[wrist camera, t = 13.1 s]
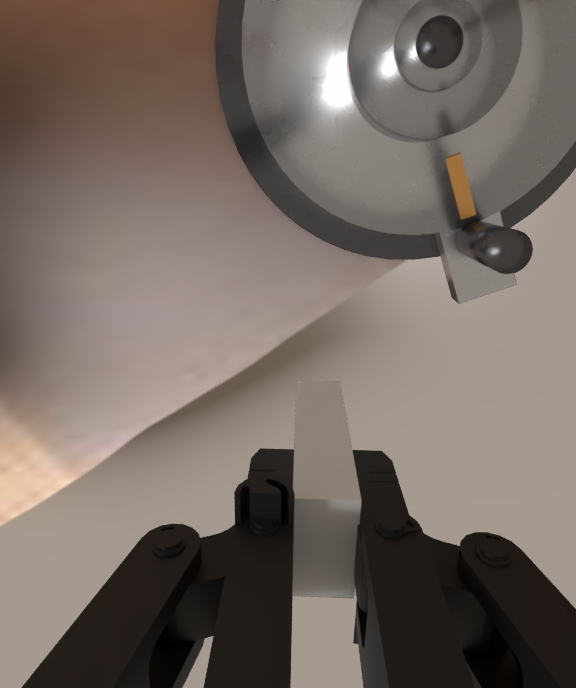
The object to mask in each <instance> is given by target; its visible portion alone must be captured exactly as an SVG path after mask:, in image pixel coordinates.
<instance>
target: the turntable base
mask: <svg viewBox="0 0 576 688" xmlns="http://www.w3.org/2000/svg"><path fill="white" fill-rule="evenodd" d="M244 7H245V0H220V3H219V8H218V16H217V29H216V68H217V78H218V84H219V90H220V97H221V102H222V106H223V109H224V113H225V116H226V120H227V124H228V127H229V130H230V132H231V135H232V137H233V139H234V142H235V144H236V147H237V149H238V152H239V154H240V155H241V157H242V159H243V161H244V162H245V164H246V166H247V168H248V170H249V171H250V173H251V175H252V176H253V178H254V179H255V180H256V182H257V183H258V184H259V186H260V187H261V188H262V190H263V191H264V192H265V194H266V195H267V196H268V197H269V198H270V199H271V200H272V201H273V202H274V203H275V205H276V206H277V207H278V208H279V209H280V210H281V211H282V212H283V213H284V214H286V215H287V216H288V217H289V218H291V219H292V220H293V221H294V222H296V223H297V224H298V225H299V226H301V227H302V228H303V229H305V230H307V231H308V232H310V233H312V234H313V235H315V236H317V237H318V238H320V239H322V240H323V241H326V242H328V243H330V244H333V245H335V246H337V247H339V248H342V249H344V250H347V251H351V252H355V253H358V254H362V255H365V256H371V257H378V258H385V259H422V258H431V257H438V256H440V252H439V249H438V245H437V242H436V238H435V234H420V235H403V234H390V233H385V232H380V231H375V230H370V229H367V228H364V227H361V226H358V225H355V224H352V223H349V222H347V221H345V220H343V219H341V218H339V217H337V216H335V215H333V214H331V213H330V212H328V211H327V210H325V209H324V208H322V207H321V206H319V205H318V204H317V203H315V202H314V201H312V200H311V199H310V198H309V197H308V196H307V195H306V194H304V193H303V192H302V191H301V190H300V189H299V188H298V187H297V186H296V185H295V184H294V183H293V182H292V181H291V179H290V178H289V177H288V176H287V175H286V174H285V172H284V171H283V170H282V169H281V168H280V166H279V165H278V163H277V161H276V160H275V158H274V157H273V155H272V154H271V152H270V151H269V149H268V147H267V145H266V143H265V141H264V139H263V137H262V135H261V133H260V131H259V128H258V126H257V124H256V121H255V118H254V115H253V112H252V109H251V106H250V103H249V98H248V94H247V89H246V84H245V79H244V71H243V60H242V21H243V14H244ZM575 168H576V141H575V142H574V144H573V145H572V147H571V148H570V149H569V150H568V152H567V153H566V154H565V156H564V157H563V158H562V159H561V161H560V162H559V163H558V164H557V166H556V167H555V168H554V169H553V170H552V171H551V172H550V173H549V174H548V175H547V176H546V177H545V178H544V179H543V180H542V181H541V182H540V183H539V184H537V185H536V186H535V187H534V188H532V189H531V190H530V191H529V192H527V193H526V194H525V195H524V196H522V197H521V198H520V199H518V200H517V201H515V202H514V203H512V204H511V205H509V206H507V207H506V208H504V209H503V210H501V211H500V214H501V218H502V223H503V227H506V228H511V227H512V226H514V225H515V224H517V223H518V222H520V221H521V220H523V219H524V218H525V217H527V216H528V215H530V214H531V213H532V212H533V211H534V210H535V209H537V208H538V207H539V206H540V205H541V204H542V203H543V202H545V201H546V200H547V199H548V198H549V197H550V196H551V195H552V194H553V193H554V192H555V191H556V190H557V189H558V188H559V187H560V185H561V184H562V183H563V182H564V181H565V180H566V179H567V178H568V177H569V176H570V174H571V173H572V172H573V170H574V169H575Z"/></svg>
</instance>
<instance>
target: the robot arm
mask: <svg viewBox="0 0 576 688" xmlns="http://www.w3.org/2000/svg"><path fill="white" fill-rule="evenodd" d="M294 442H295V443H294V450H290V449H259V450H258V452H257V453H256V454H255V455H254V456H253V457H252V458H251V463H250V468H249V474H248V479H247V480H245V481H244V482H242V483H241V484H239V485H238V487H237V488H236V491H235V525H233V526H232V527H231V528H230V529H228V530H226V531H224V532H222V533H219V534H215V535H212V536H207V537H202V538H200V537H199V534H198V533H197V532H196V531H195V530H194V529H193V528H191V527H189V526H186V525H184V524H169V525H163V526H159V527H157V528H155V529H153V530H151V531H149V532H148V533H147V534H146V535H145V536H144V537H142V538H141V540H140V541H139V542H138V543H137V544H136V546H135V547H134V548H133V549H132V551H131V552H130V553H129V554H128V556H127V557H126V558H125V559H124V561H123V562H122V563H121V564H120V566H119V567H118V568H117V569H116V571H115V572H114V573H113V574H112V576H111V577H110V578H109V579H108V581H107V582H106V583H105V584H104V586H103V587H102V588H101V589H100V591H99V592H98V593H97V594H96V596H95V597H94V598H93V599H92V600H91V602H90V603H89V604H88V605H87V607H86V608H85V609H84V610H83V612H82V613H81V614H80V615H79V617H78V618H77V619H76V621H75V622H74V623H73V624H72V625H71V627H70V628H69V629H68V630H67V632H66V633H65V634H64V635H63V637H62V638H61V639H60V640H59V642H58V643H57V644H56V645H55V647H54V648H53V649H52V650H51V652H50V653H49V654H48V655H47V657H46V658H45V659H44V660H43V662H42V663H41V664H40V666H39V667H38V668H37V669H36V670H35V672H34V673H33V674H32V675H31V677H30V678H29V679H28V680H27V682H26V683H25V684H24V685H23V686H22V688H182V687H183V685H184V683H185V681H186V679H187V677H188V675H189V673H190V671H191V669H192V667H193V665H194V663H195V661H196V658H197V657H198V654H199V652H200V650H201V648H202V646H203V643H204V639H205V638H207V637H211V636H214V637H213V642H212V647H211V652H210V658H209V663H208V668H207V673H206V678H205V684H204V688H290V680H291V633H292V632H291V631H292V596H301V597H329V598H354V592H355V588H356V596H357V604H356V617H355V630H354V642H353V643H355V644H359V653H360V661H361V670H362V679H363V687H364V688H576V609H575V608H574V607H573V606H572V605H571V604H570V602H569V601H568V600H567V599H566V598H565V597H564V596H563V595H562V594H561V593H560V592H559V590H558V589H557V588H556V587H555V586H554V585H553V584H552V583H551V582H550V581H549V580H548V578H547V577H546V576H545V575H544V574H543V573H542V572H541V571H540V570H539V569H538V567H537V566H536V565H535V564H534V563H533V562H532V561H531V560H530V559H529V558H528V557H527V556H526V554H525V553H524V552H523V551H522V550H521V549H520V548H519V547H517V546H516V545H515V544H514V543H513V542H511V541H509V540H507V539H505V538H503V537H501V536H499V535H495V534H491V533H487V532H486V533H484V532H479V533H478V532H475V533H472V534H469V535H466V536H465V537H464V539H462V541H461V543H460V546H457V545H454V544H450V543H445V542H442V541H439V540H436V539H433V538H431V537H429V536H427V535H426V534H424V533H423V531H422V528H421V527H420V525H419V524H418V522H417V521H416V520H415V519H413V518H412V517H411V516H410V515H409V513H408V510H407V507H406V504H405V501H404V498H403V494H402V491H401V488H400V485H399V483H398V479H397V476H396V472H395V469H394V466H393V462H392V461H391V459H389V458H388V457H387V456H386V455H385V454H384V453H383V452H382V451H367V450H365V451H364V450H352V445H351V440H350V434H349V429H348V423H347V418H346V412H345V407H344V402H343V396H342V390H341V385H340V382H335V381H333V382H332V381H296V409H295V439H294Z"/></svg>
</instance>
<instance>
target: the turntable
mask: <svg viewBox="0 0 576 688" xmlns="http://www.w3.org/2000/svg"><path fill="white" fill-rule="evenodd" d="M362 1H363V0H245V7H244V14H243V21H242V60H243V71H244V79H245V84H246V89H247V94H248V98H249V103H250V106H251V109H252V112H253V115H254V118H255V121H256V124H257V126H258V128H259V131H260V133H261V135H262V137H263V139H264V141H265V143H266V145H267V147H268V149H269V151H270V152H271V154H272V155H273V157H274V158H275V160H276V161H277V163H278V165H279V166H280V168H281V169H282V170H283V171H284V172H285V174H286V175H287V176H288V177H289V178H290V179H291V181H292V182H293V183H294V184H295V185H296V186H297V187H298V188H299V189H300V190H301V191H302V192H303V193H304V194H306V195H307V196H308V197H309V198H310V199H311V200H312V201H314V202H315V203H317V204H318V205H319V206H321V207H322V208H324V209H325V210H327V211H328V212H330V213H331V214H333V215H335V216H337V217H339V218H341V219H343V220H345V221H347V222H349V223H352V224H355V225H358V226H361V227H364V228H367V229H370V230H375V231H380V232H385V233H390V234H403V235H420V234H435V238H436V242H437V245H438V249H439V252H440V256H441V260H442V263H443V267H444V270H445V274H446V278H447V281H448V285H449V289H450V292H451V296H452V298H453V299H454V300H455V301H456V302H458V303H459V304H460V303H463V302H466V301H469V300H472V299H475V298H478V297H481V296H484V295H487V294H490V293H493V292H496V291H499V290H502V289H505V288H508V287H511V286H514V285H517V283H516V279H515V274H514V273H516V272H518V271H520V270H521V269H523V268H524V267H525V266H526V265H527V263H528V262H529V260H530V258H531V256H532V250H533V248H532V243H531V241H530V238H529V237H528V236H527V235H526V234H525V233H523V232H521V231H518V230H514V229H510V228H506V227H503V223H502V218H501V214H500V211H501V210H503V209H504V208H506V207H507V206H509V205H511V204H512V203H514V202H515V201H517V200H518V199H520V198H521V197H522V196H524V195H525V194H526V193H527V192H529V191H530V190H531V189H532V188H534V187H535V186H536V185H537V184H539V183H540V182H541V181H542V180H543V179H544V178H545V177H546V176H547V175H548V174H549V173H550V172H551V171H552V170H553V169H554V168H555V167H556V166H557V164H558V163H559V162H560V161H561V159H562V158H563V157H564V156H565V154H566V153H567V152H568V150H569V149H570V148H571V147H572V145H573V144H574V142H575V141H576V0H518V3H519V7H520V10H521V17H522V32H523V36H522V47H521V52H520V57H519V61H518V64H517V67H516V70H515V73H514V75H513V78H512V80H511V82H510V84H509V86H508V87H507V89H506V91H505V92H504V94H503V96H502V97H501V98H500V99H499V101H498V102H497V103H496V105H495V106H494V107H493V108H492V109H491V110H490V111H489V112H488V113H487V114H486V115H485V116H483V117H482V118H481V119H480V120H479V121H477V122H476V123H474V124H473V125H471V126H469V127H468V128H466V129H464V130H461V131H459V132H457V133H454V134H451V135H448V136H445V137H442V138H438V139H435V140H432V141H427V142H417V143H411V142H403V141H398V140H394V139H392V138H390V137H387V136H385V135H383V134H382V133H380V132H378V131H377V130H376V129H374V128H373V127H372V126H371V125H370V124H369V123H368V122H367V121H366V120H365V119H364V118H363V117H362V115H361V114H360V112H359V111H358V109H357V108H356V106H355V104H354V102H353V99H352V97H351V94H350V91H349V87H348V83H347V76H346V56H347V48H348V44H349V40H350V36H351V32H352V29H353V25H354V22H355V18H356V16H357V13H358V10H359V7H360V5H361V3H362Z"/></svg>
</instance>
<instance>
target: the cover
mask: <svg viewBox="0 0 576 688" xmlns="http://www.w3.org/2000/svg"><path fill="white" fill-rule="evenodd" d="M522 36H523V32H522V17H521V10H520V7H519V3H518V0H363V1H362V3H361V5H360V7H359V10H358V13H357V16H356V18H355V22H354V25H353V29H352V32H351V36H350V40H349V44H348V48H347V56H346V76H347V83H348V87H349V91H350V94H351V97H352V99H353V102H354V104H355V106H356V108H357V109H358V111H359V112H360V114H361V115H362V117H363V118H364V119H365V120H366V121H367V122H368V123H369V124H370V125H371V126H372V127H373V128H374V129H376V130H377V131H378V132H380V133H382V134H383V135H385V136H387V137H390V138H392V139H394V140H398V141H403V142H411V143H417V142H427V141H432V140H435V139H438V138H442V137H445V136H448V135H451V134H454V133H457V132H459V131H461V130H464V129H466V128H468V127H469V126H471V125H473V124H474V123H476V122H477V121H479V120H480V119H481V118H482V117H483V116H485V115H486V114H487V113H488V112H489V111H490V110H491V109H492V108H493V107H494V106H495V105H496V103H497V102H498V101H499V99H500V98H501V97H502V96H503V94H504V92H505V91H506V89H507V87H508V86H509V84H510V82H511V80H512V78H513V75H514V73H515V70H516V67H517V64H518V61H519V57H520V52H521V47H522Z"/></svg>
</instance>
